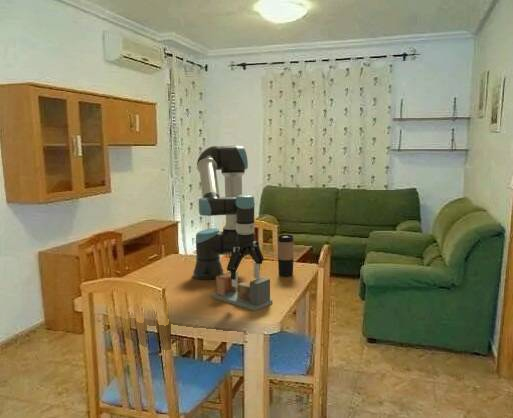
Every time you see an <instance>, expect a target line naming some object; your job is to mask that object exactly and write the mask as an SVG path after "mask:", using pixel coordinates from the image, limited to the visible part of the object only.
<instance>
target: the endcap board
mask: <svg viewBox="0 0 513 418" xmlns="http://www.w3.org/2000/svg"><path fill="white" fill-rule="evenodd" d="M249 283H250V301H246V300H243V299H240V298H237V291H233V290H227V291H225V295H224V296H222V295H219V294H216V292H213V293H211V298H212V299H216V300H218V301H222V302H225V303H229V304H231V305H235V306H237V307H241V308H245V309H248V310H251V311H254V312H255V311H256V312H257V311H258V310H260V309H262V308H265V307H268V306H269V305H271V304H273V299H271V278H267V277H263V276H262V277H260V278H259V279H256V278H255V279H253V280H251V281H249Z"/></svg>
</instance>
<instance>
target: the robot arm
mask: <svg viewBox="0 0 513 418" xmlns="http://www.w3.org/2000/svg"><path fill="white" fill-rule="evenodd" d="M248 162H249V161H248V155H247V152H246V149H245V147H244V146H241V145H213V146H210V147H207V148H205V149H204V150H203V151H202V152H201V153H200V155H198V158H197V162H196V168H197V171H198V173H199V176H200V177H199V178H200V188H201V198H199V199H198V213H199V215H200V216H207V217H212V216H225V225H224V226H222V231H220V230H219V228H215V227H214V228H205V229H201V230H200V231H198V232H197V233H196V234H195V240H194V241H195V242H194V243H195V253H196V254H195V255H196V257H195V258H196V259H195V260H196V261H195V265H194V269H193V272H192V274H193V278H195V279H198V280H209V281H210V280H216V276H219V275H222V274H224V269H223V266H222V262H221V261H220V259H221V258H220V256H221V255H223V256H225V255H230V258H229V260H228V264H227V267H226V271H227V272H231V279H232V286H233V287H238V284H239V278H238V277H239V275H238V274H239V272H238V268H239V267H240V264H241V261H242V260H243V258H245V256H247V255H249V256H250V257H251V259H252V260H253V261H254V263H253V278H254V279H255V280H256V279H259V278H261V277H260V275H261V272H260V271H261V265H262V264H263V262H264V260H265V259H264V256H263V254H262V253H263V252H262V251H261V247H260V245H259V241H258V240H257V241H256V240H255V239H256V237H255V236H256V235H255V205H256V203H255V197H254V195H251V194H243V176H244V175H245V172H246V170H247V169H248V168H249V165H248V164H249V163H248ZM219 170H220V172H221V174H222V176H223V177H224V197H221V196H220V190H219V183H218V182H219V181H218V177H217V171H219Z"/></svg>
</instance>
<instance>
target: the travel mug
mask: <svg viewBox="0 0 513 418" xmlns="http://www.w3.org/2000/svg"><path fill="white" fill-rule="evenodd" d="M277 237H278V238H277V241H278V242H277V243H278V244H277V245H278V246H277V251H278V252H277V261H278V262H277V263H278V265H277V266H278V267H277V268H278V276H279V277H281V276H282V278H289V276H291V277H293V276H294V235H291V234H279V235H278V236H277ZM292 275H293V276H292Z"/></svg>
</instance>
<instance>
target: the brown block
mask: <svg viewBox="0 0 513 418" xmlns="http://www.w3.org/2000/svg"><path fill="white" fill-rule="evenodd" d="M237 298H240V299H243V300H246V301H250V282H246V281H242V282H240V283H239V282H238V287H237Z"/></svg>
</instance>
